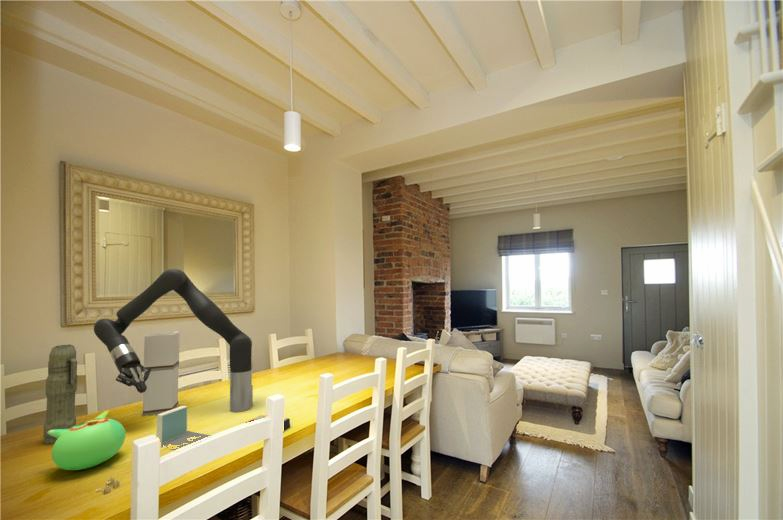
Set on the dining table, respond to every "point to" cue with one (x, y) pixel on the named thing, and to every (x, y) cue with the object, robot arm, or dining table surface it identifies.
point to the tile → (172, 424)
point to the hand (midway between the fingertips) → (143, 391)
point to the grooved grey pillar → (161, 372)
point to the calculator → (286, 421)
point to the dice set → (109, 485)
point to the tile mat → (184, 439)
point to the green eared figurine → (87, 443)
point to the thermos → (60, 390)
